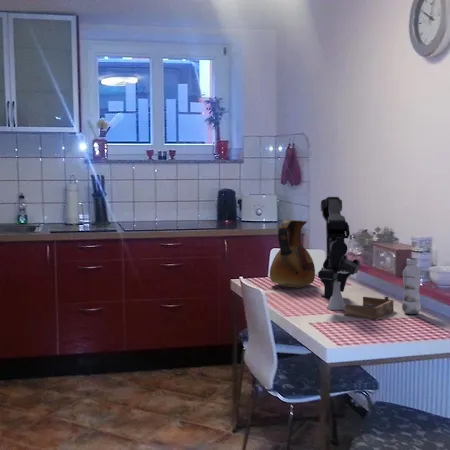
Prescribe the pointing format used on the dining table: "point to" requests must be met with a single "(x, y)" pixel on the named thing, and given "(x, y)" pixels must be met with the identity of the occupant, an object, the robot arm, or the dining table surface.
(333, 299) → the flask
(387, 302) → the holder
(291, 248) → the ceramic pitcher
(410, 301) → the plastic bottle
